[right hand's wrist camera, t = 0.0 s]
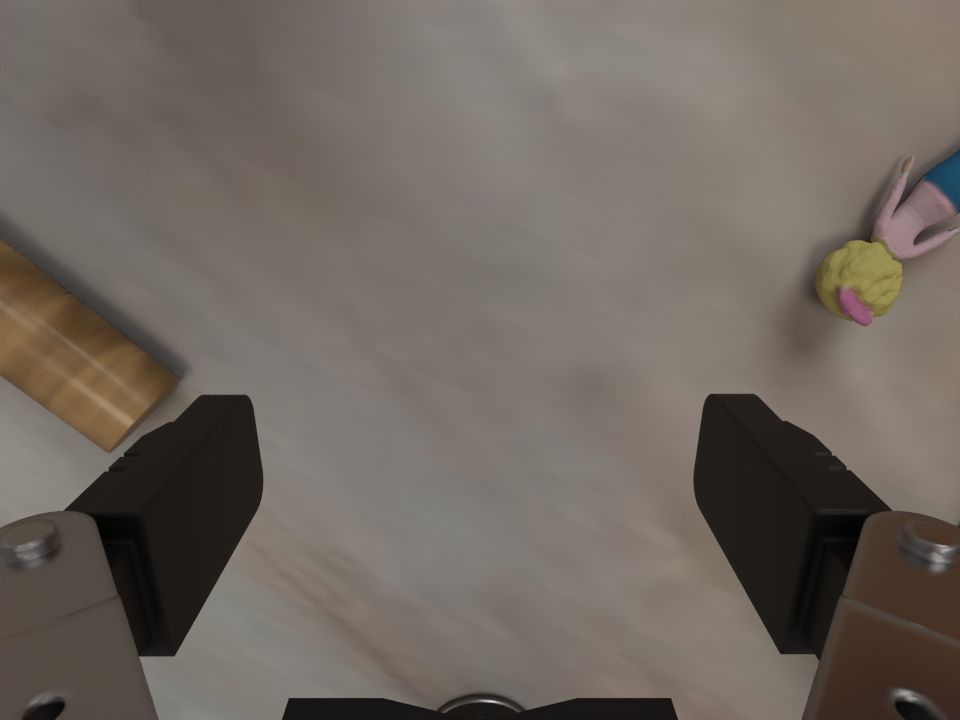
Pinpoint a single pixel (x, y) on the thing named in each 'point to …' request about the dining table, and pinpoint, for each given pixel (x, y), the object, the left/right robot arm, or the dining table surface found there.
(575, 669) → the dining table surface
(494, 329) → the dining table surface
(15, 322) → the rod
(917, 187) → the figurine
